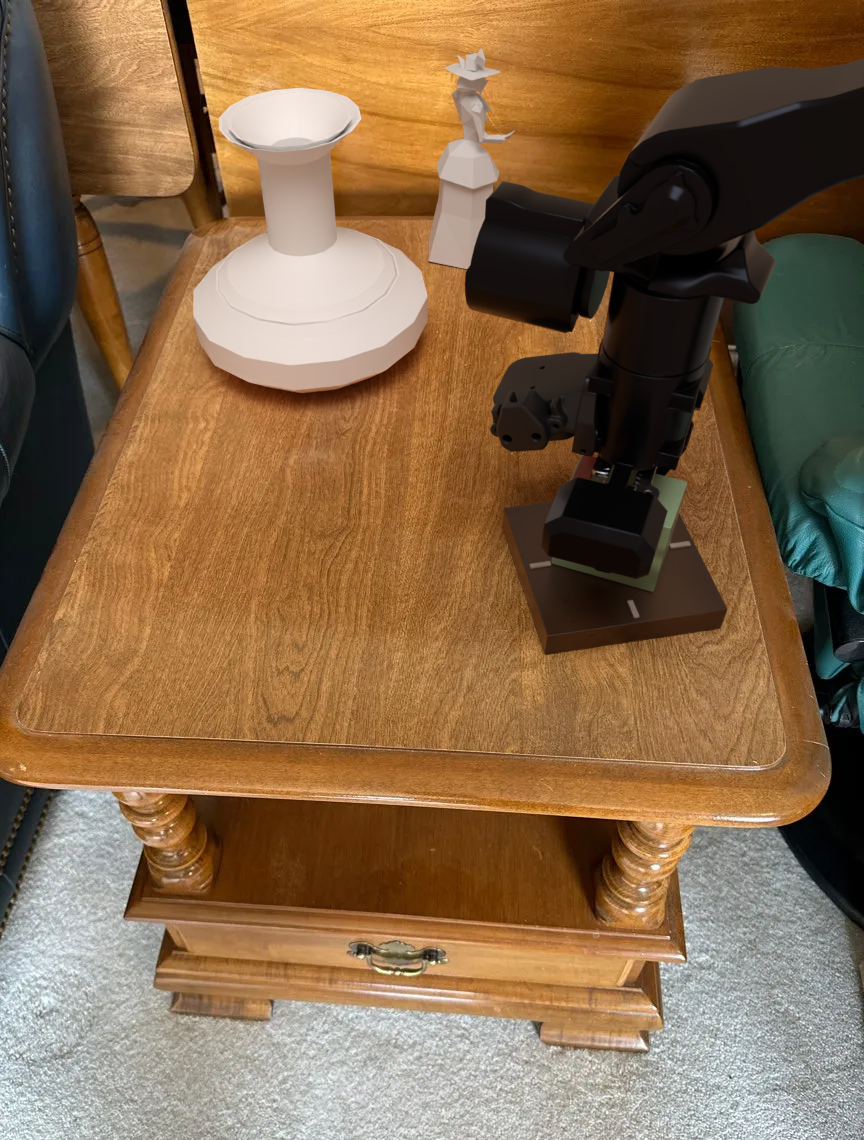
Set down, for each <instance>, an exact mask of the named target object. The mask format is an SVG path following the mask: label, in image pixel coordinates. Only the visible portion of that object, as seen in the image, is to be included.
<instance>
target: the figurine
mask: <svg viewBox="0 0 864 1140" xmlns="http://www.w3.org/2000/svg"><path fill="white" fill-rule="evenodd" d="M476 51H477V50H476V49H474V53H471V54H465V55H464V56H465V57H464V58H462V57H461V56H460V55H458V54H456V56H457V59H458V61H459V63H453V64H450V65H447V66H445V67H444V69H445V70H447V71H449V72H450V73H452V74H454V75H456V76H458V78H457V80H456V86H457V87H456V88H457V89H456V90H454V91H453V92H452V93H451V96H452V100H453V103H454V105H455V108H456V112H457V114H458V116H457V117H458V119H459V121H461V124H462V130H463V137H462V138H458V139H455V140H453V141H449V142H448V143H447V145H446V146H445V147H444V150H443V152H442V154H441V155H440V157H439V158H438V161H437V162H436V164H435V165H436V169H437V174H438V178H439V189H438V199H437V202H436V206H435V211H434V216H433V220H432V224H431V228H430V233H429V237H428V259H427V260H428V262H431V263H435V264H439V265H440V264H441V265H445V266H449V267H455V268H459V269H464V270H467V269H468V267H469V266H470V265H471V259H472V255H473V250H474V246H475V243H476V240H477V237H478V233H479V231H480V228H481V226H482V224H483V221H484V219H485V206H486V199H487V198H488V197H489V196H490V195H491V193H492V192H493V191H494V183H497V181H498V179H499V175H500V173H501V172H500V170H499V169H498V167H497V165H496V164H495V162H494V160H493V158H492V157H491V155H490V153H489V152H488V150H487V149H485V148H484V147H483V146H482V145H483V144H489V145H500V144H502V145H503V144H504V142H505V141H506V140H510V139H511V137H512V136H513V134H514V133H515V131H516V129H514V130H513V131H511V132H509V133H507V134H489V133H487V132H486V131H485V123H486V122H487V121H488V120H489V118H488V115H487V113H488V112H490V111H492V109H491V107H490V106H489V104H488V102H487V101H486V99H485V97H483V96H482V93H483V91H484V89H485V87H486V86H487V84H488V83H489V79H487V78H486V77H490V76H494V75H498V74H500V73H502V71H500V70H497V69H494V68H490V67H489V68H488V67H485V63H486V61H487V60H486V56H485V54H484V51H483V48H482V47H480V49H479V50H478V52H476Z"/></svg>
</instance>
